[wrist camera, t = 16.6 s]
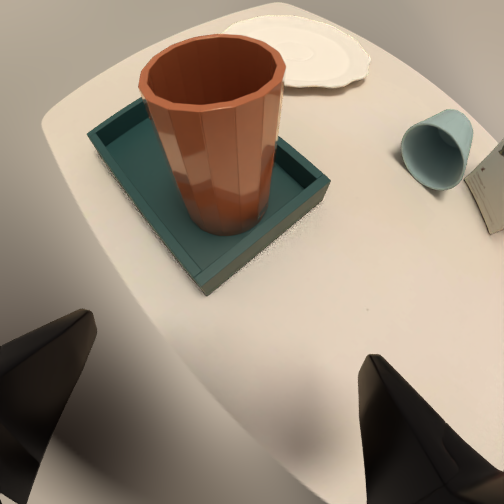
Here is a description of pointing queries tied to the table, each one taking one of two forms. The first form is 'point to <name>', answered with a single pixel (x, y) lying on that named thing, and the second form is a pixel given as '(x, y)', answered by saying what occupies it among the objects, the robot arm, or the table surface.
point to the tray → (171, 207)
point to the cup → (438, 149)
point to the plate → (308, 50)
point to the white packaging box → (490, 188)
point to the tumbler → (217, 125)
